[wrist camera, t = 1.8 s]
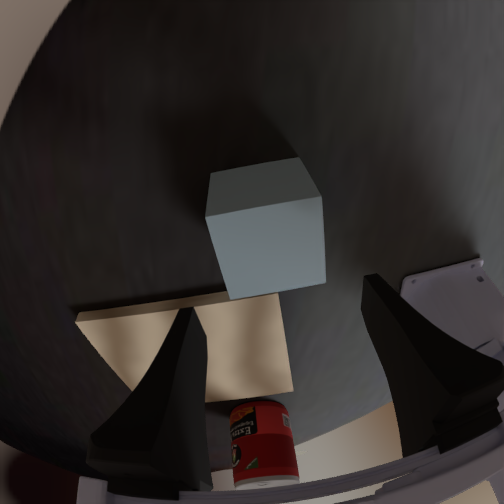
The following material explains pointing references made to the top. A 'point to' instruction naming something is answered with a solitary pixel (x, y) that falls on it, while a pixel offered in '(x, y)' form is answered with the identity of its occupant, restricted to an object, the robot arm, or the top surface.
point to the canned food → (262, 446)
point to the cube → (267, 227)
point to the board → (218, 341)
